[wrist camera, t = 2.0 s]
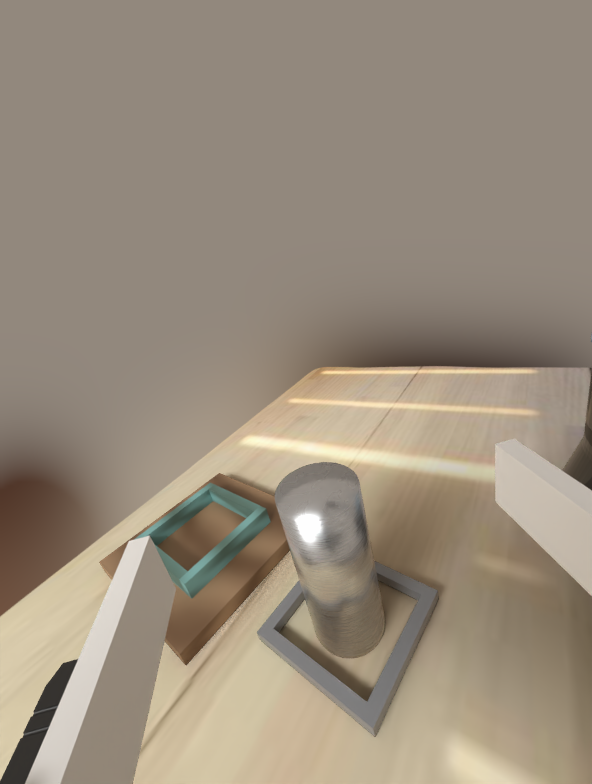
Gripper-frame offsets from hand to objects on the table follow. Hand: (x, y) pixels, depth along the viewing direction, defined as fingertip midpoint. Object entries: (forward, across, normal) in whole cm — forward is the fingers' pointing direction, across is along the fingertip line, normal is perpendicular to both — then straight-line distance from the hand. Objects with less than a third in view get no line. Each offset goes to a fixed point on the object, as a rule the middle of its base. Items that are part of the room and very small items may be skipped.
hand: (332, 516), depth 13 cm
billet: (+10, 0, -20) cm, 22 cm away
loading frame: (+10, 0, -20) cm, 22 cm away
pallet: (+23, -13, -20) cm, 33 cm away
